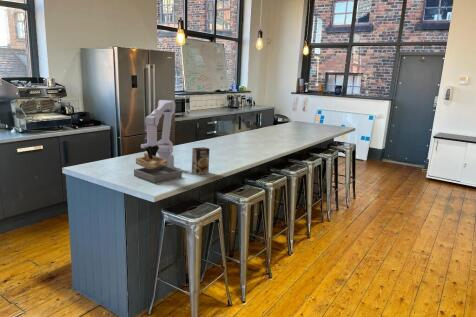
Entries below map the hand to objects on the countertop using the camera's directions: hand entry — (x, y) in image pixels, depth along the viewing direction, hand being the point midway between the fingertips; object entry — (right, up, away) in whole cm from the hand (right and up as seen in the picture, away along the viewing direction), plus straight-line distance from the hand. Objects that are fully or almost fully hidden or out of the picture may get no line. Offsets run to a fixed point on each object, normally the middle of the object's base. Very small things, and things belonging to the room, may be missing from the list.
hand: (152, 158), depth 217 cm
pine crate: (-1, -4, +1) cm, 4 cm away
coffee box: (+28, -9, +12) cm, 32 cm away
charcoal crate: (+3, -11, 0) cm, 11 cm away
